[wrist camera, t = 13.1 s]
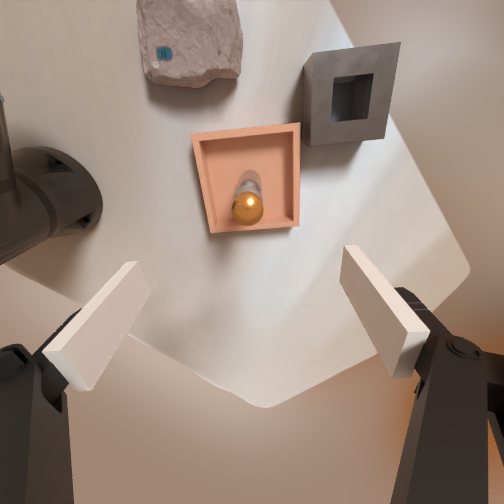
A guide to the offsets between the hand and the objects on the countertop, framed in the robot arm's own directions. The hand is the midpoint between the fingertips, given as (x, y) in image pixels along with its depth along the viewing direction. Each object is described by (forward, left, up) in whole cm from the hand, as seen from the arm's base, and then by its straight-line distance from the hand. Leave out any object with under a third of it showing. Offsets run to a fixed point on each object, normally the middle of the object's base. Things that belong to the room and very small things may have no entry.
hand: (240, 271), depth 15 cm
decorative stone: (-6, +18, -29) cm, 35 cm away
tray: (0, 0, -28) cm, 29 cm away
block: (+14, +10, -28) cm, 33 cm away
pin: (0, 0, -28) cm, 28 cm away
